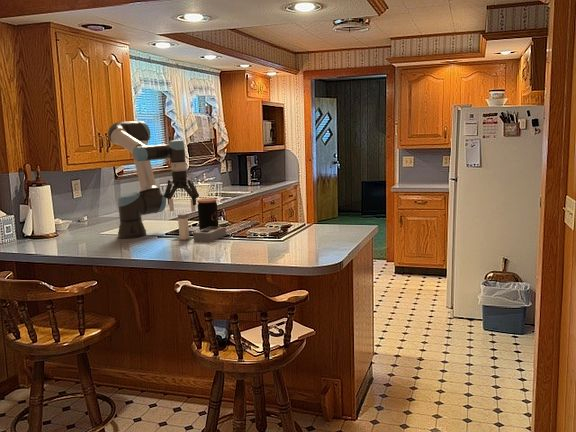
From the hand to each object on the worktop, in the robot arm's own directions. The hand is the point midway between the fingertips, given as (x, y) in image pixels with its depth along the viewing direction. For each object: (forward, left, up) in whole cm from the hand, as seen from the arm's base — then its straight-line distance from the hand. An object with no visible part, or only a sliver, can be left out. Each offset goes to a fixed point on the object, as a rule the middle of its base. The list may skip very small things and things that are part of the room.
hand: (182, 211), depth 290 cm
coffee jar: (+2, +21, -16) cm, 26 cm away
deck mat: (0, 0, -15) cm, 15 cm away
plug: (0, 0, -15) cm, 15 cm away
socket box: (+13, +5, -15) cm, 20 cm away
